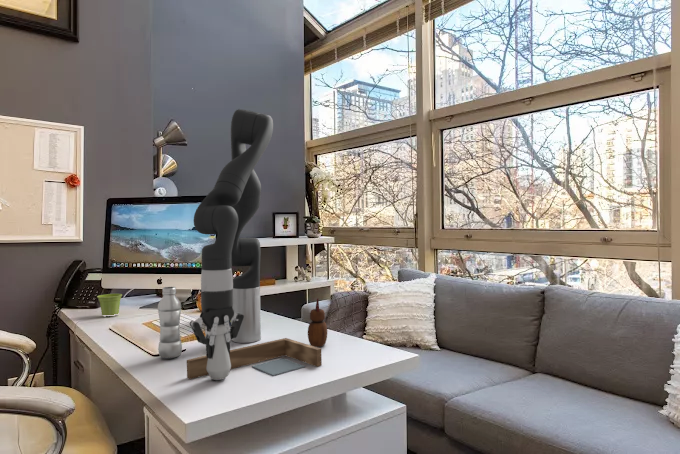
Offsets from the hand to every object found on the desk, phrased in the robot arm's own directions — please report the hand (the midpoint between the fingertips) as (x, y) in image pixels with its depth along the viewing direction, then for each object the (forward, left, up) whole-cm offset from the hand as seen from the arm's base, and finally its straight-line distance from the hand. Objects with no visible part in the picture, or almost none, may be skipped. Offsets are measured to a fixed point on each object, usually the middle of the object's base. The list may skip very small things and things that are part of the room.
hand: (218, 357), depth 112 cm
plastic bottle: (-27, -1, -6) cm, 27 cm away
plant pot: (-104, +5, -6) cm, 104 cm away
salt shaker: (0, 0, -5) cm, 5 cm away
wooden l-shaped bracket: (+1, +10, -5) cm, 11 cm away
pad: (+2, +16, -5) cm, 17 cm away
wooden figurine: (-7, +37, -6) cm, 38 cm away
